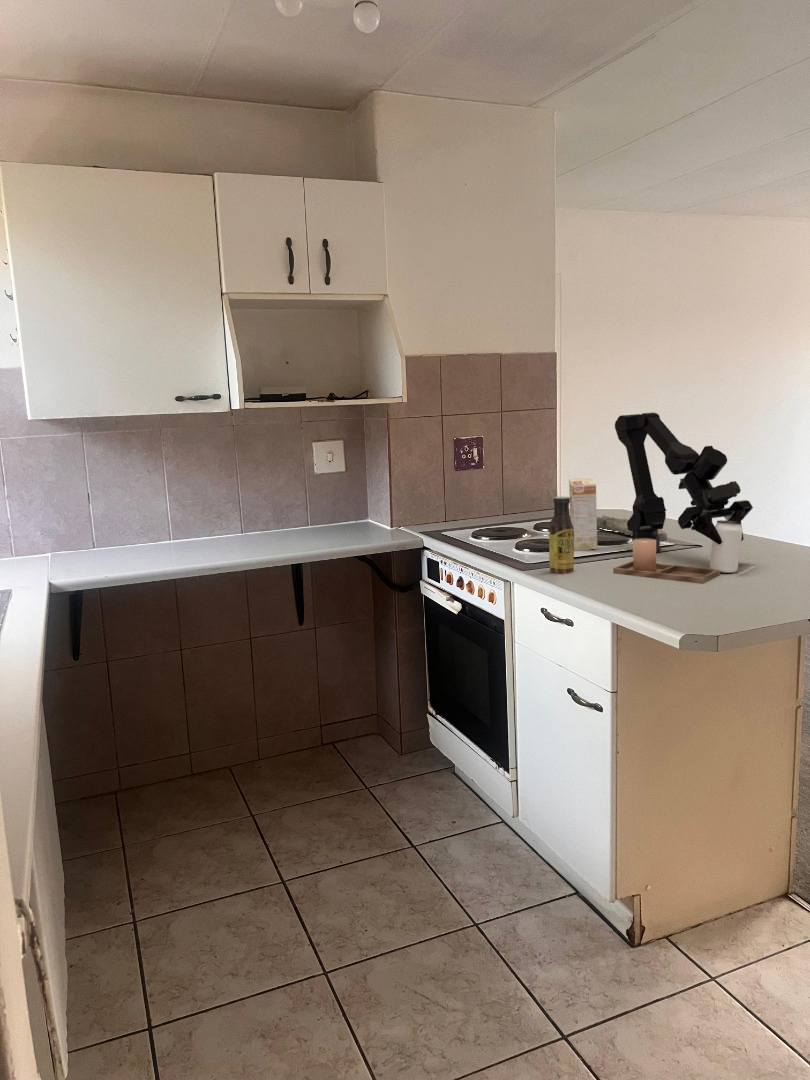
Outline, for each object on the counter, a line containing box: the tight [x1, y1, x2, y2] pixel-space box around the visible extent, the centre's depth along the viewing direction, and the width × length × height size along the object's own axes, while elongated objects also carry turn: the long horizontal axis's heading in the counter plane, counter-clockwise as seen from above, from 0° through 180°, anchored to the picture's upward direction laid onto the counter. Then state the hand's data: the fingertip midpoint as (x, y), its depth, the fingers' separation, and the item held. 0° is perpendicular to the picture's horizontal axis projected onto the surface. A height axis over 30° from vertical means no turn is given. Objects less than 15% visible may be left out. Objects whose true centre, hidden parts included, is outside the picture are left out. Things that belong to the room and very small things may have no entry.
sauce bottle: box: [548, 496, 575, 575], centre depth 208 cm, size 6×6×20 cm
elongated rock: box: [597, 515, 668, 542], centre depth 258 cm, size 35×5×10 cm
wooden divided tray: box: [612, 560, 721, 585], centre depth 200 cm, size 23×10×2 cm, turn 47°
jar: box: [632, 538, 657, 572], centre depth 203 cm, size 6×6×8 cm
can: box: [709, 519, 743, 574], centre depth 198 cm, size 6×6×12 cm
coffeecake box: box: [568, 477, 598, 551], centre depth 242 cm, size 15×7×20 cm, turn 172°
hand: (731, 541), depth 196 cm, fingers closed on can, 6 cm apart
